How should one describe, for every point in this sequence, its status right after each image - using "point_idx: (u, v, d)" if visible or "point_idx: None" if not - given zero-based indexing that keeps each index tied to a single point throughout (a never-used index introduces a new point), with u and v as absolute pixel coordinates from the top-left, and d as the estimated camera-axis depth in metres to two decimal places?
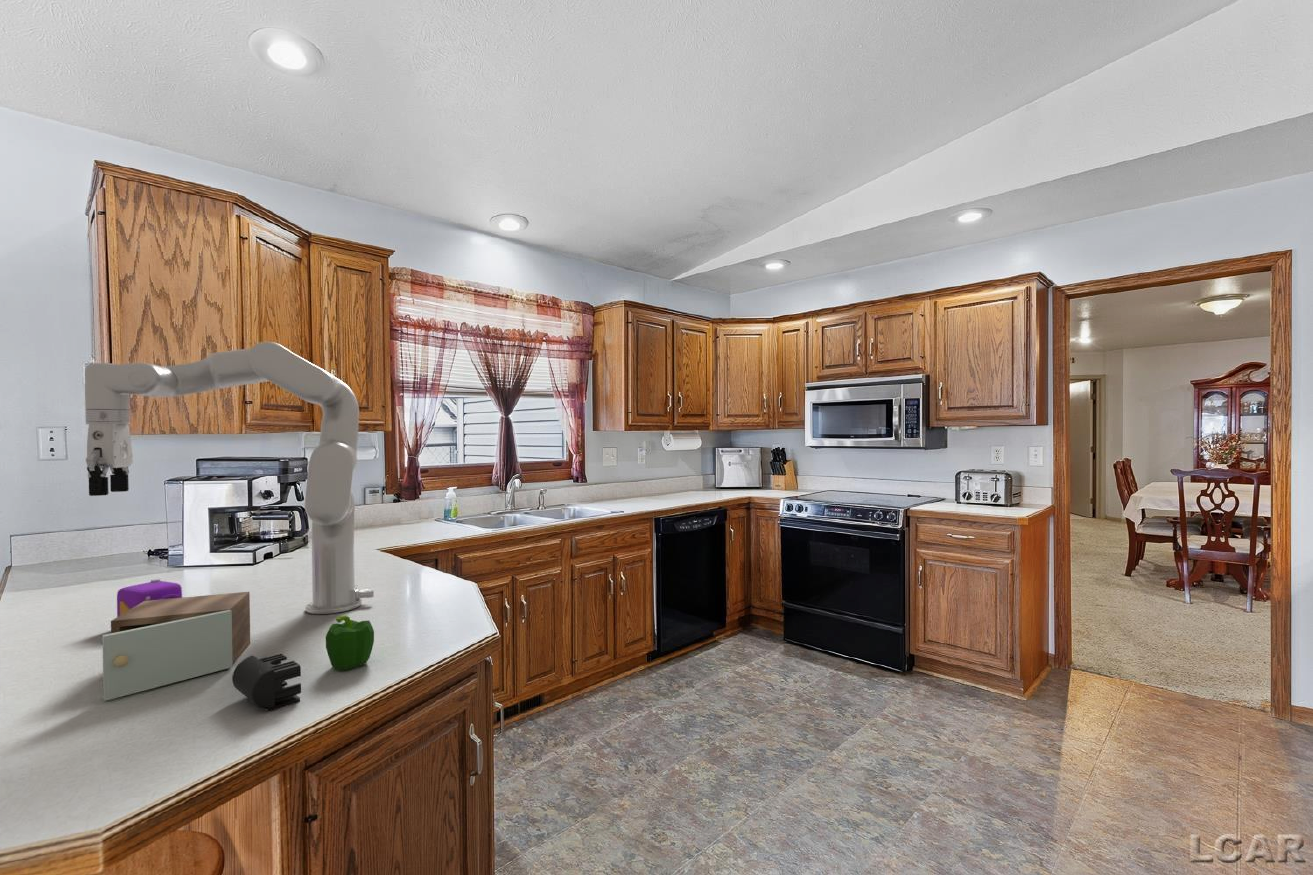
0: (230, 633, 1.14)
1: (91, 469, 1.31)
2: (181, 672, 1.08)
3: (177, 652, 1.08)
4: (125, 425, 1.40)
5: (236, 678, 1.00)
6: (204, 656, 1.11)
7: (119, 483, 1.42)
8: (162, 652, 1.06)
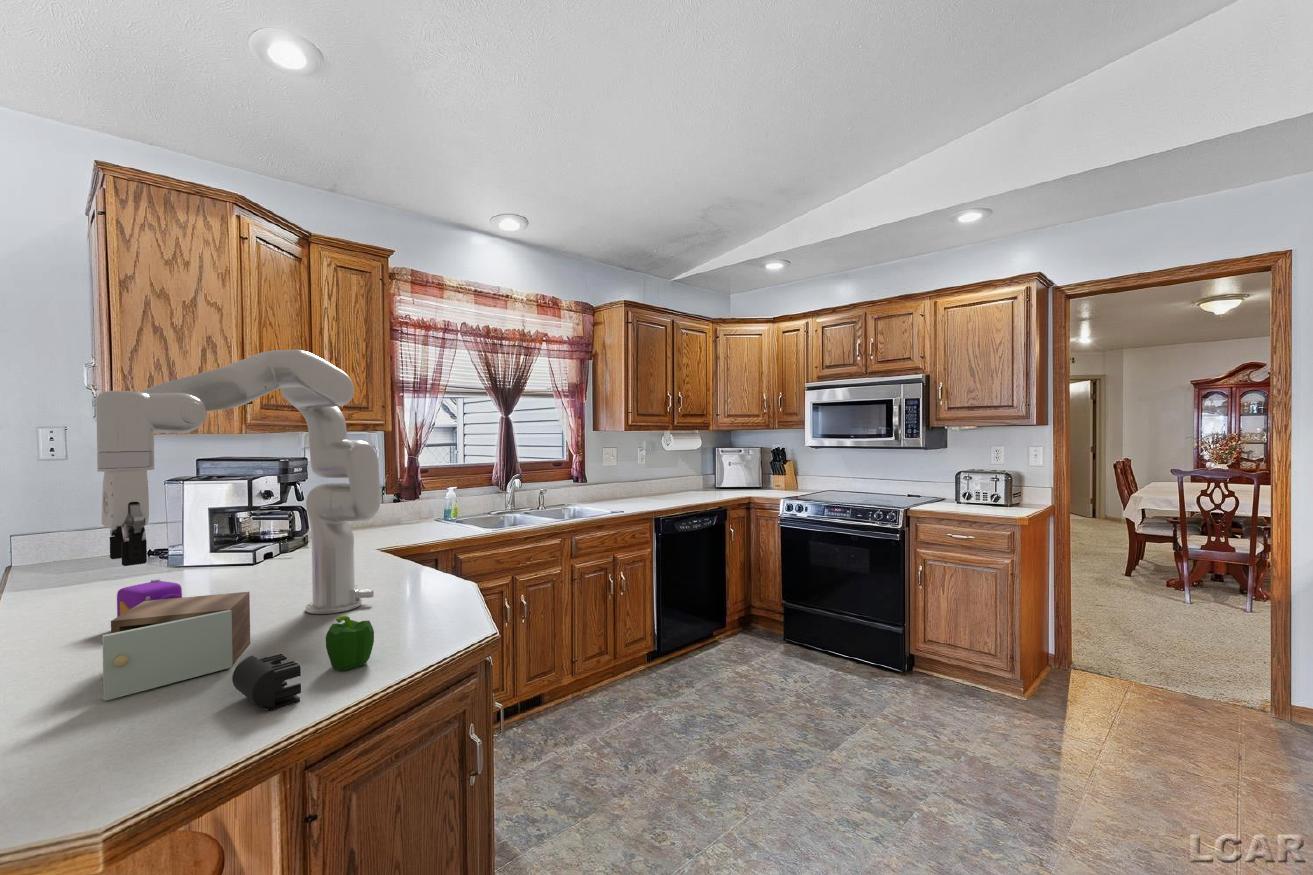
0: (230, 633, 1.14)
1: None
2: (181, 672, 1.08)
3: (177, 652, 1.08)
4: (108, 472, 1.03)
5: (236, 678, 1.00)
6: (204, 656, 1.11)
7: None
8: (162, 652, 1.06)
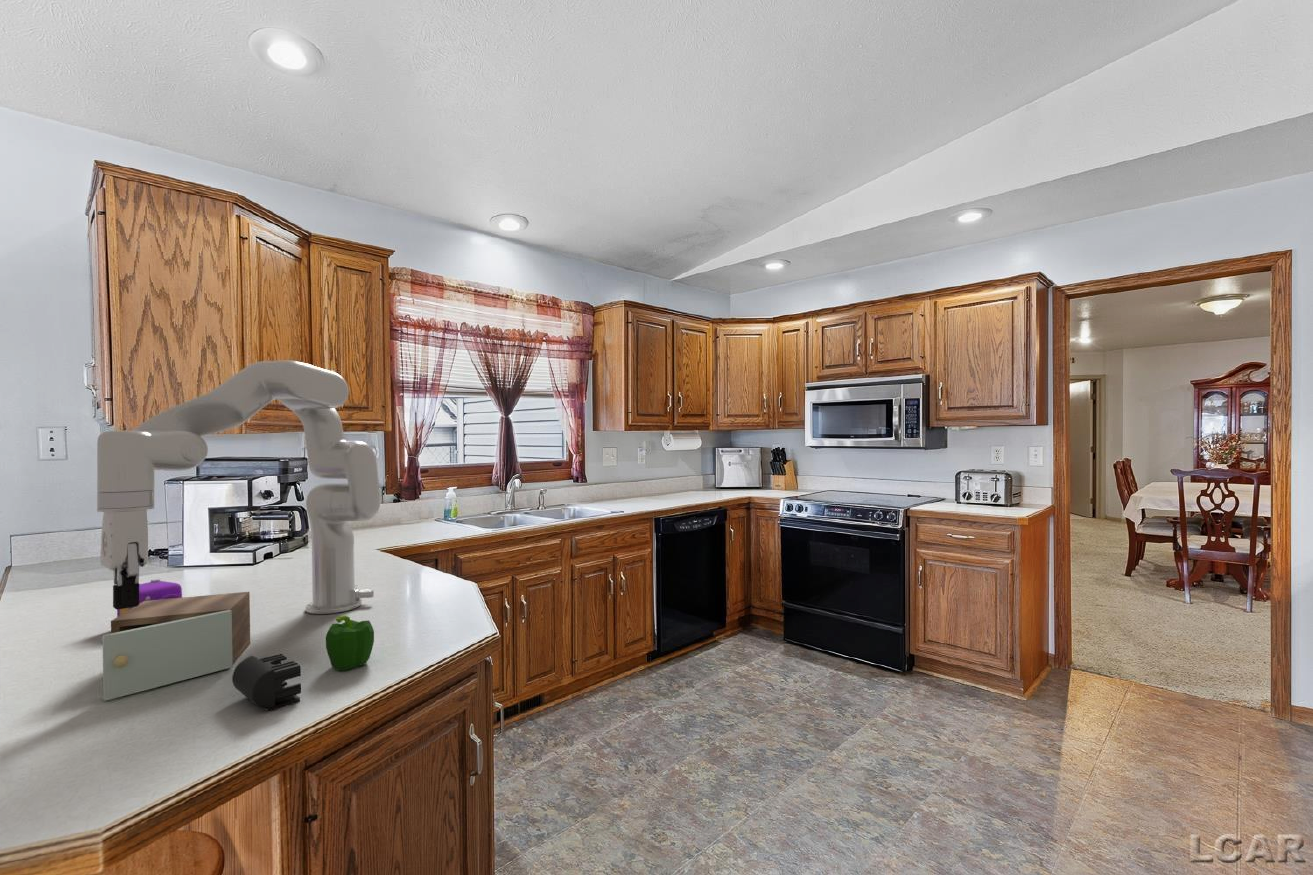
0: (230, 633, 1.14)
1: None
2: (181, 672, 1.08)
3: (177, 652, 1.08)
4: (108, 513, 1.03)
5: (236, 678, 1.00)
6: (204, 656, 1.11)
7: None
8: (162, 652, 1.06)
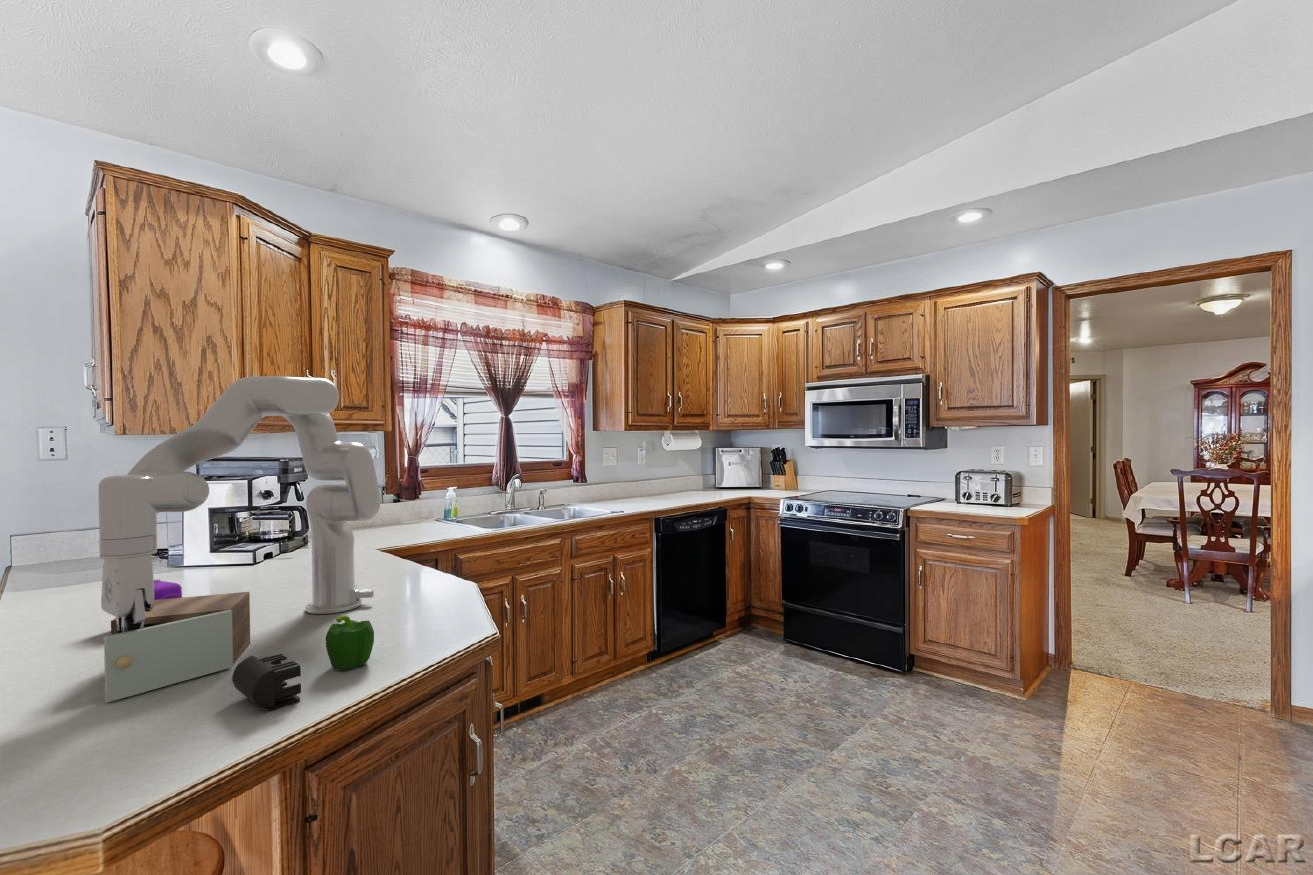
0: (231, 633, 1.14)
1: None
2: (182, 673, 1.08)
3: (178, 652, 1.08)
4: (112, 559, 1.02)
5: (236, 678, 1.00)
6: (205, 656, 1.11)
7: None
8: (163, 652, 1.06)
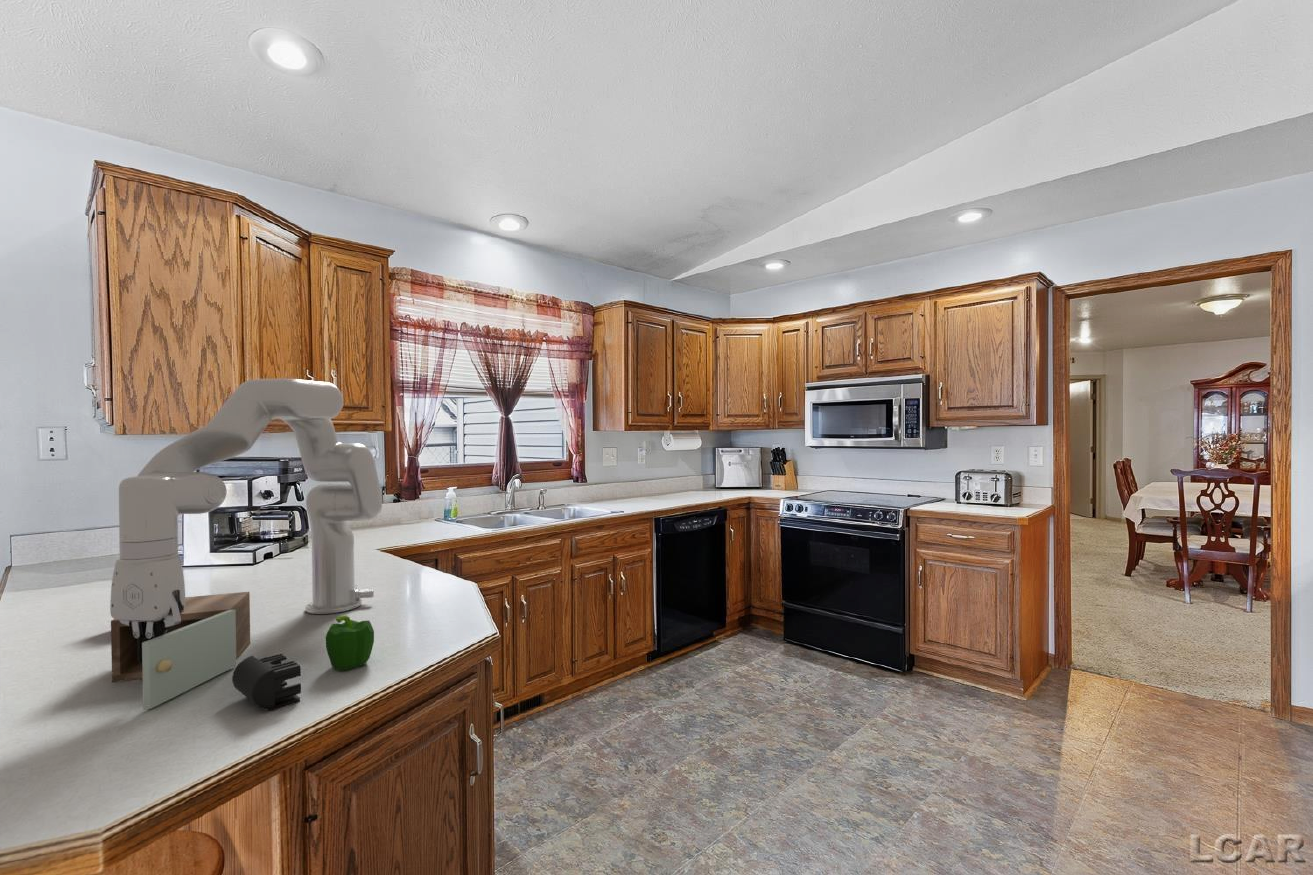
0: (234, 632, 1.15)
1: None
2: (202, 674, 1.07)
3: (199, 654, 1.07)
4: (141, 563, 0.99)
5: (235, 678, 1.00)
6: (218, 656, 1.11)
7: None
8: (189, 655, 1.05)
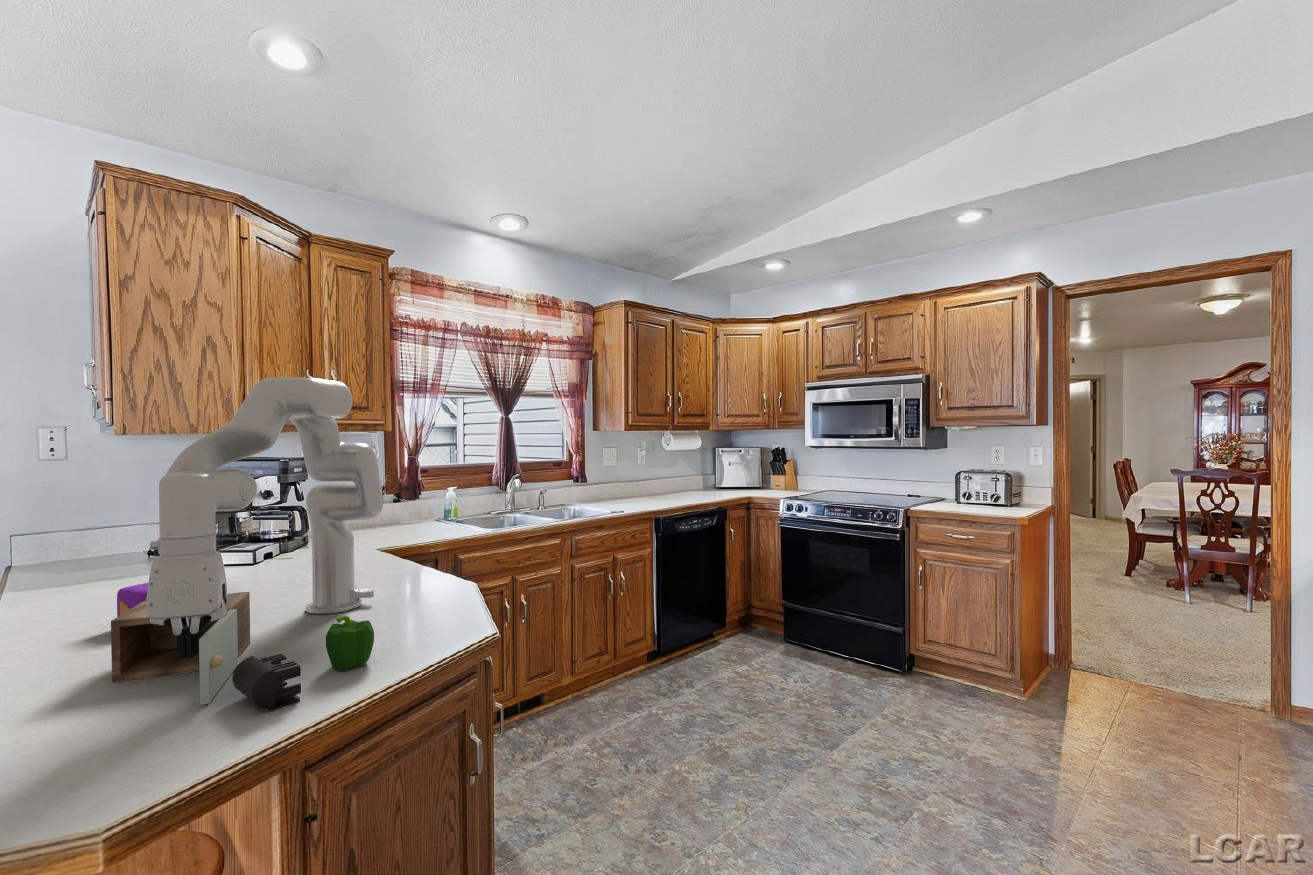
0: (236, 631, 1.15)
1: None
2: (226, 671, 1.08)
3: (225, 651, 1.08)
4: (191, 558, 1.00)
5: (236, 678, 1.00)
6: (231, 654, 1.12)
7: None
8: (221, 652, 1.06)
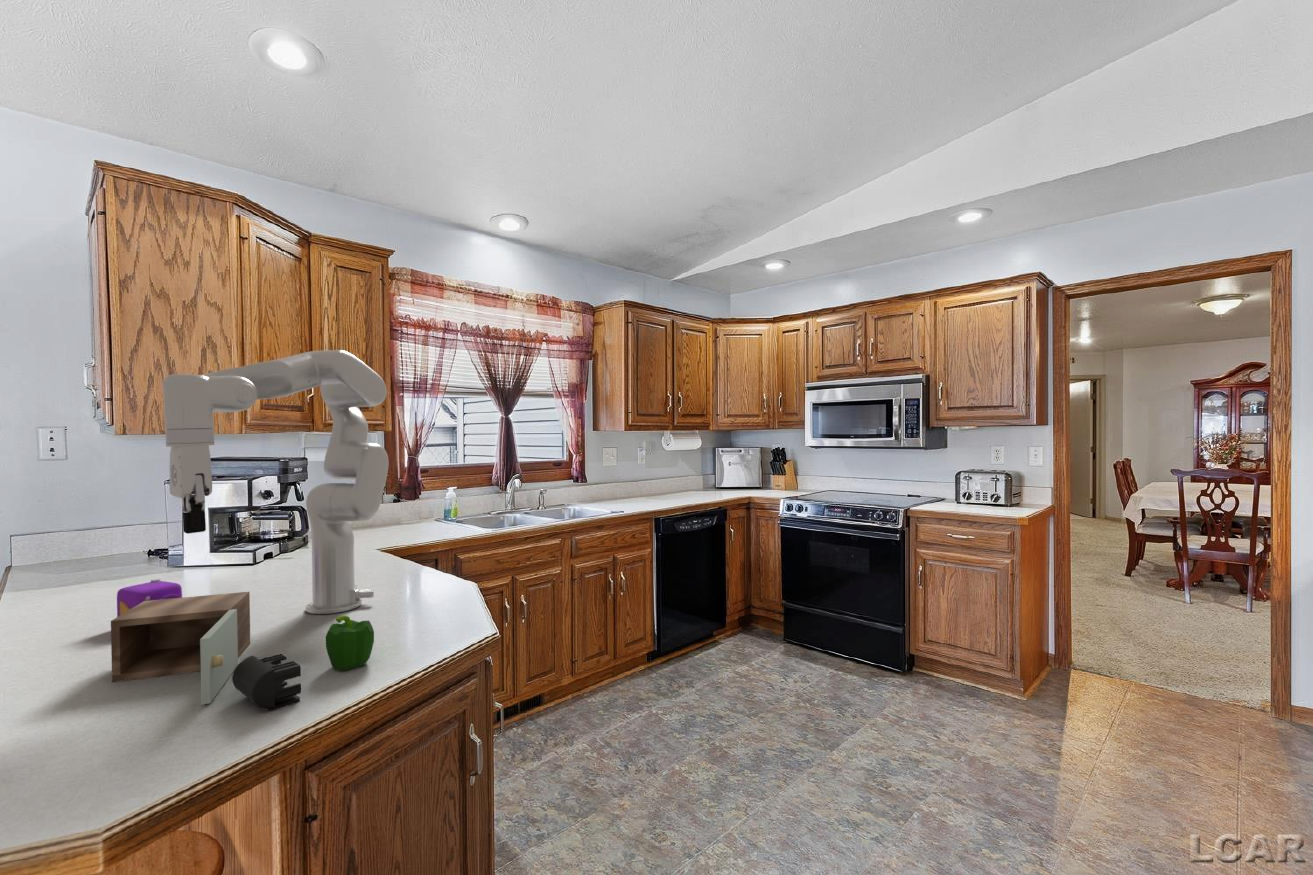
0: (236, 631, 1.15)
1: None
2: (226, 671, 1.08)
3: (225, 651, 1.08)
4: (176, 447, 1.15)
5: (236, 678, 1.00)
6: (231, 654, 1.12)
7: None
8: (222, 652, 1.06)
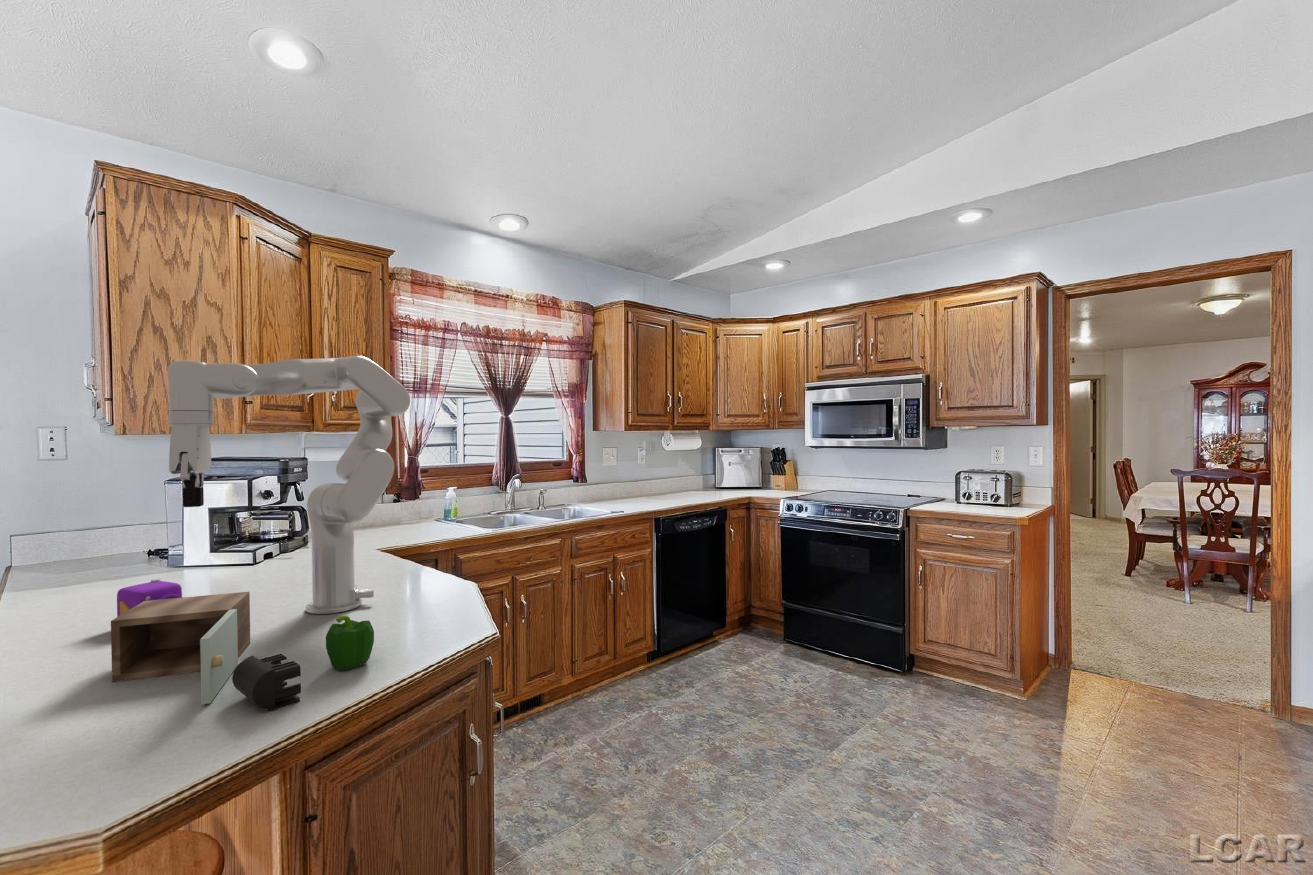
0: (236, 631, 1.15)
1: None
2: (226, 671, 1.08)
3: (225, 651, 1.08)
4: None
5: (236, 678, 1.00)
6: (231, 654, 1.12)
7: None
8: (222, 652, 1.06)
